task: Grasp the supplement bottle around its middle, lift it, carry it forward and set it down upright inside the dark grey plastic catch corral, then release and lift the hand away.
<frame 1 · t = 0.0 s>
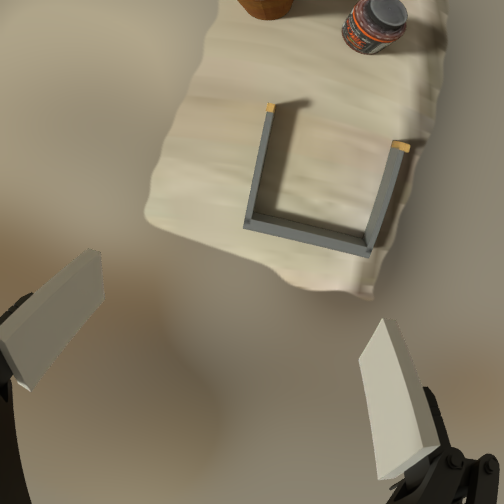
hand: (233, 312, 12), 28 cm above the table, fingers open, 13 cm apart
catch corral: (323, 177, 36), on the table
supplement bottle: (362, 36, 27), on the table
disposable coffee cup: (267, 2, 26), on the table
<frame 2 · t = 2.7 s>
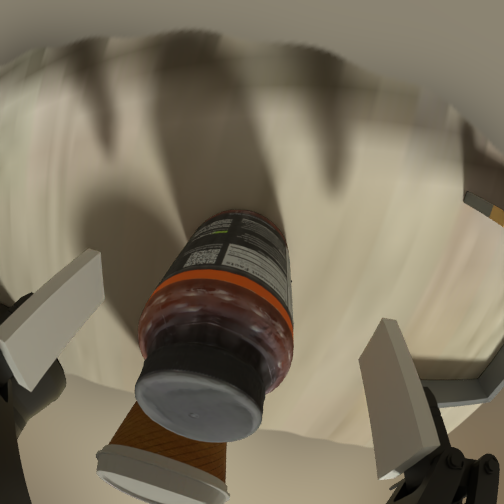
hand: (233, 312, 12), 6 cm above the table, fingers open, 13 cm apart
catch corral: (481, 316, 18), on the table
supplement bottle: (241, 251, 18), on the table
disposable coffee cup: (194, 375, 23), on the table
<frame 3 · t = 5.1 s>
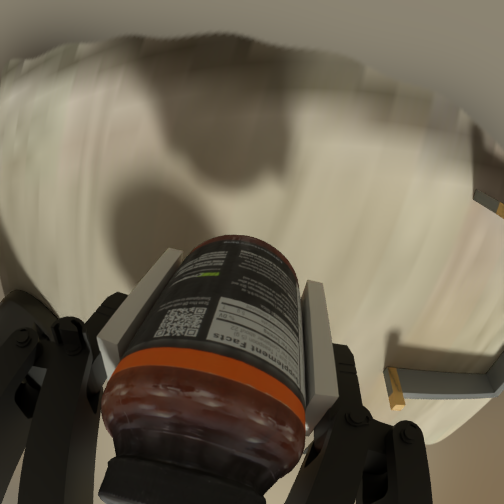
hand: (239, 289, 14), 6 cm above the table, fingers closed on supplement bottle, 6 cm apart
catch corral: (490, 310, 18), on the table
supplement bottle: (240, 284, 14), point 5 cm above the table, touching gripper
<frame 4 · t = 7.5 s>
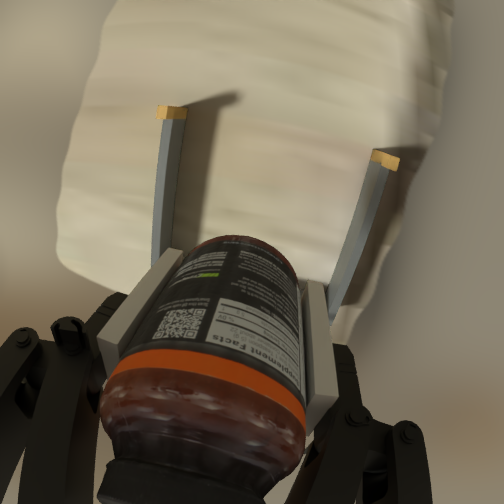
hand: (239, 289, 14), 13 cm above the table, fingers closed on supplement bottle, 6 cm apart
catch corral: (261, 210, 25), on the table
supplement bottle: (240, 284, 14), point 12 cm above the table, touching gripper
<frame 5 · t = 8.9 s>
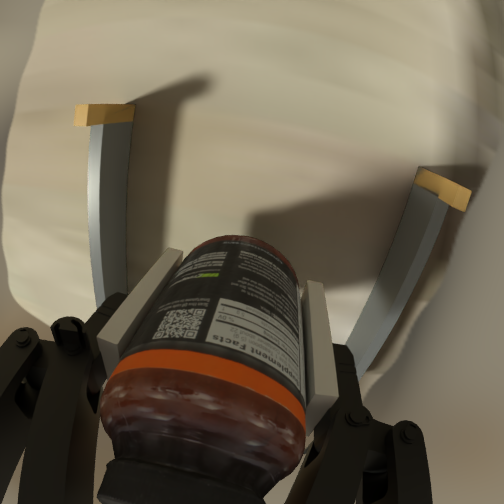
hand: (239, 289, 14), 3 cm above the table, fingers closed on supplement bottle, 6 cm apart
catch corral: (248, 257, 17), on the table
supplement bottle: (240, 284, 14), point 3 cm above the table, touching gripper
when the fingers open (2 cm above the table, at t = 9.9 s): supplement bottle drops 2 cm, on the table.
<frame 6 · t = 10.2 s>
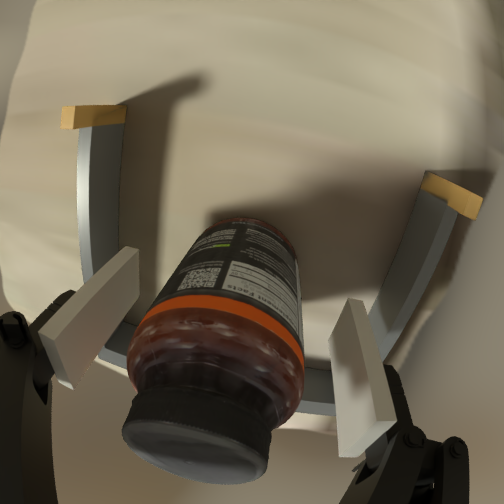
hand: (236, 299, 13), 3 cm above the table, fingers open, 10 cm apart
catch corral: (246, 266, 16), on the table
supplement bottle: (245, 263, 16), on the table
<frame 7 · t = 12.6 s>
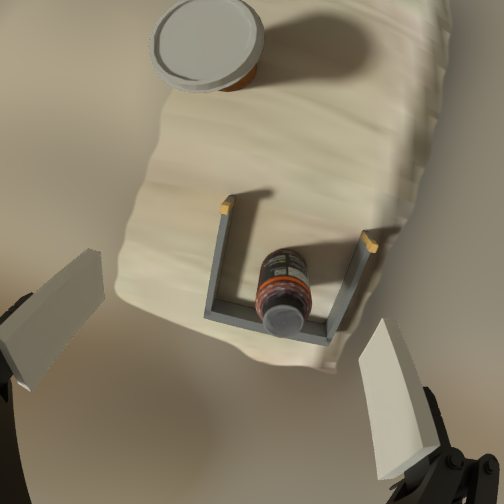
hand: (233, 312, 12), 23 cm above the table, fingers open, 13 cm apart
catch corral: (284, 269, 37), on the table
supplement bottle: (284, 268, 37), on the table
disposable coffee cup: (229, 67, 28), on the table
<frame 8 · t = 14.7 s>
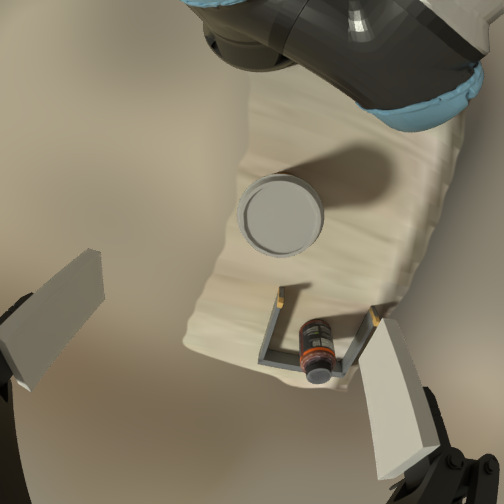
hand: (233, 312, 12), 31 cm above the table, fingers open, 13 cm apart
catch corral: (315, 331, 51), on the table
supplement bottle: (315, 329, 51), on the table
disposable coffee cup: (282, 193, 41), on the table
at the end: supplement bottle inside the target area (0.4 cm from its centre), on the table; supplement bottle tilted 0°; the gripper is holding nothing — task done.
